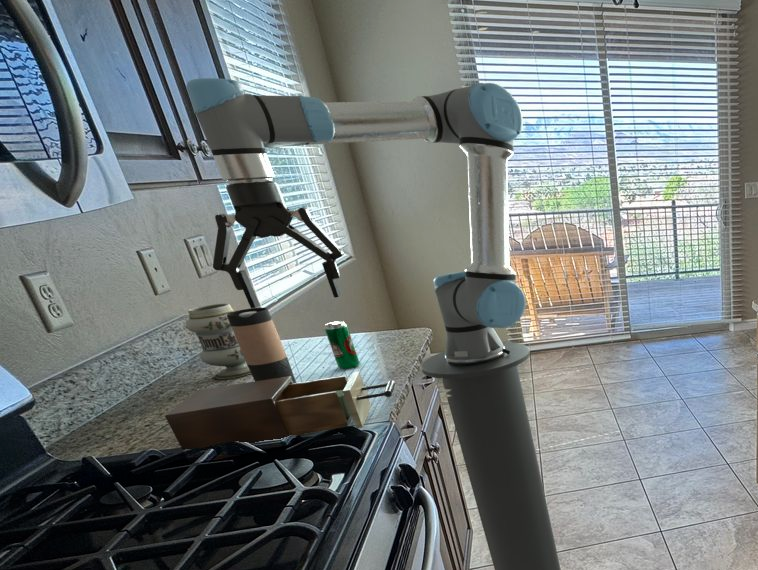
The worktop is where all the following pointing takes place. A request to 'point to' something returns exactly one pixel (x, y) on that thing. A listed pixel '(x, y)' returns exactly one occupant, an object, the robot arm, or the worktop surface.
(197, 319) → the apothecary jar
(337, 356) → the soda can
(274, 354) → the travel mug
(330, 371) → the worktop surface
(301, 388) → the drawer
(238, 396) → the cabinet
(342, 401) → the block
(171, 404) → the worktop surface
